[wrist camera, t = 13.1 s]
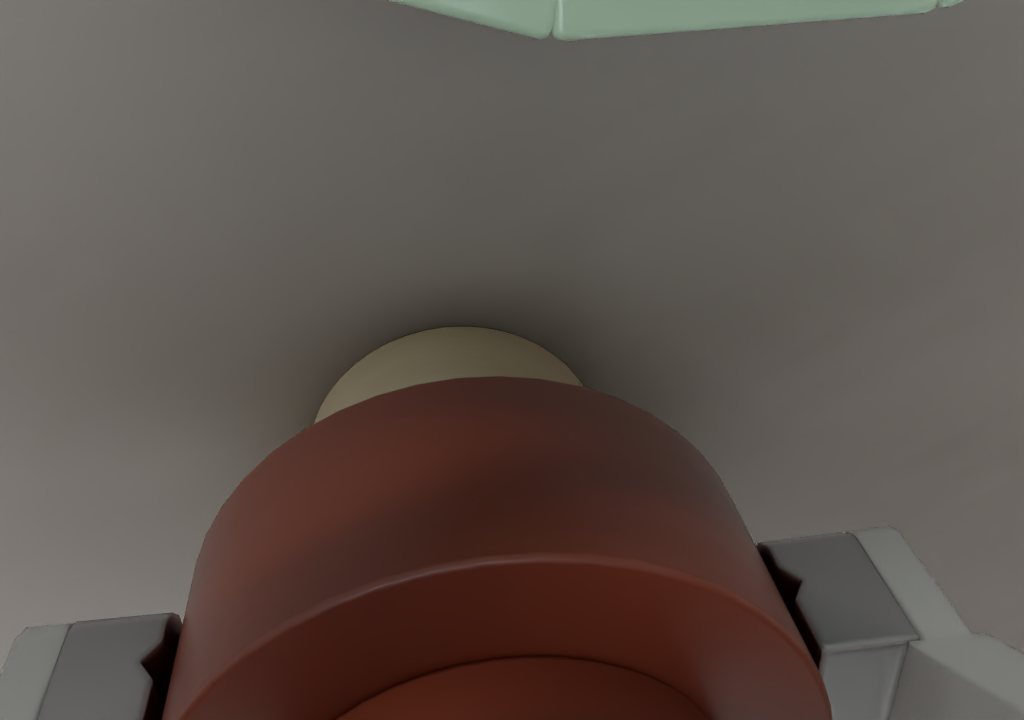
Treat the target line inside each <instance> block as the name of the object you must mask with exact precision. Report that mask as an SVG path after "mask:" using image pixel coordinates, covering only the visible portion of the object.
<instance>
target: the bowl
mask: <svg viewBox="0 0 1024 720" xmlns="http://www.w3.org/2000/svg"><path fill="white" fill-rule="evenodd" d="M386 1H390V2H394V3H398V4H402V5H406V6H410V7H413V8H417V9H421V10H425V11H429V12H433V13H437V14H440V15H444V16H448V17H452V18H456V19H460V20H464V21H468V22H471V23H475V24H479V25H483V26H487V27H491V28H495V29H499V30H502V31H506V32H510V33H514V34H518V35H522V36H526V37H530V38H533V39H544V38H547V37H548V36H549V35H551V36H552V38H554V39H557V40H560V41H575V40H588V39H601V38H614V37H627V36H640V35H653V34H667V33H680V32H693V31H706V30H719V29H732V28H745V27H758V26H771V25H784V24H797V23H810V22H823V21H836V20H849V19H862V18H875V17H888V16H901V15H914V14H923V13H926V12H928V11H931V10H933V9H935V7H937V8H948V7H950V6H953V5H955V4H958V3H960V2H963V1H965V0H386Z"/></svg>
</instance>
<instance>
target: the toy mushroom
mask: <svg viewBox="0 0 1024 720" xmlns="http://www.w3.org/2000/svg"><path fill="white" fill-rule="evenodd" d="M162 720H832V710H831V704H830V701H829V697H828V694H827V691H826V688H825V684H824V681H823V678H822V676H821V674H820V672H819V670H818V668H817V666H816V664H815V662H814V660H813V658H812V656H811V654H810V652H809V651H808V649H807V647H806V645H805V643H804V641H803V639H802V637H801V635H800V633H799V631H798V629H797V627H796V625H795V623H794V621H793V619H792V617H791V615H790V613H789V611H788V609H787V607H786V605H785V603H784V601H783V599H782V597H781V595H780V593H779V591H778V589H777V587H776V585H775V583H774V581H773V579H772V577H771V575H770V573H769V571H768V569H767V567H766V565H765V563H764V561H763V560H762V558H761V556H760V554H759V552H758V550H757V548H756V546H755V544H754V542H753V540H752V538H751V536H750V534H749V532H748V530H747V528H746V526H745V524H744V522H743V520H742V518H741V516H740V514H739V512H738V510H737V508H736V506H735V504H734V502H733V500H732V498H731V497H730V495H729V493H728V491H727V489H726V487H725V486H724V484H723V482H722V480H721V478H720V477H719V475H718V474H717V473H716V471H715V470H714V469H713V468H712V466H711V465H710V464H709V463H708V461H707V460H706V459H705V458H704V456H703V455H702V454H701V453H700V452H699V451H698V450H697V449H696V448H695V447H694V446H693V445H691V444H690V443H689V442H688V441H687V440H686V439H685V438H684V437H683V436H681V435H680V434H679V433H678V432H677V431H675V430H674V429H672V428H671V427H669V426H668V425H666V424H665V423H663V422H662V421H660V420H659V419H657V418H655V417H654V416H652V415H651V414H649V413H648V412H646V411H643V410H641V409H639V408H637V407H635V406H633V405H631V404H628V403H626V402H624V401H622V400H620V399H618V398H615V397H613V396H610V395H607V394H603V393H600V392H597V391H594V390H591V389H588V388H584V387H583V385H582V384H581V382H580V380H579V379H578V378H577V377H576V376H575V374H574V373H573V372H572V371H571V370H570V369H569V367H568V366H566V365H565V364H564V363H563V362H562V361H561V360H559V359H558V358H557V357H556V356H555V355H553V354H552V353H550V352H549V351H547V350H545V349H544V348H542V347H541V346H539V345H537V344H535V343H533V342H530V341H528V340H526V339H524V338H522V337H519V336H516V335H513V334H510V333H507V332H503V331H498V330H493V329H488V328H480V327H466V326H464V327H444V328H437V329H431V330H425V331H421V332H418V333H414V334H411V335H407V336H404V337H402V338H399V339H397V340H394V341H392V342H389V343H387V344H385V345H384V346H382V347H380V348H378V349H376V350H375V351H373V352H371V353H370V354H368V355H367V356H365V357H364V358H363V359H361V360H360V361H359V362H357V363H356V364H355V365H354V366H353V367H351V368H350V369H349V370H348V371H347V372H346V373H345V374H344V375H343V376H342V377H341V378H340V379H339V380H338V382H337V383H336V384H335V385H334V387H333V388H332V389H331V390H330V392H329V393H328V395H327V397H326V398H325V400H324V402H323V403H322V405H321V407H320V409H319V412H318V414H317V417H316V419H315V422H314V424H313V425H311V426H309V427H308V428H306V429H304V430H302V431H301V432H300V433H298V434H297V435H296V436H294V437H293V438H291V439H290V440H289V441H287V442H286V443H284V444H283V445H282V446H280V447H279V448H277V449H276V450H275V451H273V452H272V453H271V454H270V455H269V456H268V457H267V458H266V459H264V460H263V461H262V462H261V463H260V464H259V465H258V466H257V467H256V468H255V469H254V470H253V471H252V472H251V473H250V474H249V475H247V476H246V477H245V478H244V479H243V481H242V482H241V483H240V484H239V486H238V487H237V488H236V489H235V491H234V492H233V493H232V494H231V496H230V497H229V498H228V499H227V501H226V502H225V503H224V504H223V506H222V508H221V509H220V511H219V513H218V515H217V516H216V518H215V520H214V522H213V523H212V525H211V527H210V529H209V530H208V532H207V534H206V537H205V539H204V542H203V545H202V548H201V550H200V553H199V556H198V559H197V561H196V565H195V570H194V575H193V579H192V584H191V588H190V593H189V598H188V602H187V607H186V611H185V616H184V620H183V625H182V630H181V634H180V639H179V643H178V648H177V653H176V657H175V662H174V666H173V671H172V676H171V680H170V685H169V689H168V694H167V698H166V703H165V708H164V712H163V717H162Z"/></svg>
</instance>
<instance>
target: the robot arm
mask: <svg viewBox="0 0 1024 720" xmlns="http://www.w3.org/2000/svg"><path fill="white" fill-rule="evenodd" d="M756 548H757V550H758V552H759V554H760V556H761V558H762V560H763V561H764V563H765V565H766V567H767V569H768V571H769V573H770V575H771V577H772V579H773V581H774V583H775V585H776V587H777V589H778V591H779V593H780V595H781V597H782V599H783V601H784V603H785V605H786V607H787V609H788V611H789V613H790V615H791V617H792V619H793V621H794V623H795V625H796V627H797V629H798V631H799V633H800V635H801V637H802V639H803V641H804V643H805V645H806V647H807V649H808V651H809V652H810V654H811V656H812V658H813V660H814V662H815V664H816V666H817V668H818V670H819V672H820V674H821V676H822V678H823V681H824V684H825V688H826V691H827V694H828V697H829V701H830V704H831V710H832V720H1024V654H1023V653H1021V652H1020V651H1018V650H1016V649H1014V648H1012V647H1011V646H1009V645H1007V644H1005V643H1004V642H1002V641H1000V640H998V639H997V638H995V637H993V636H991V635H989V634H988V633H976V634H972V633H971V631H970V630H969V628H968V627H967V626H966V624H965V623H964V621H963V620H962V619H961V617H960V616H959V614H958V613H957V612H956V610H955V609H954V607H953V606H952V604H951V603H950V602H949V600H948V599H947V597H946V596H945V595H944V593H943V592H942V590H941V589H940V588H939V586H938V585H937V583H936V582H935V581H934V579H933V578H932V576H931V575H930V574H929V572H928V571H927V569H926V568H925V567H924V565H923V564H922V562H921V561H920V560H919V558H918V557H917V555H916V554H915V553H914V551H913V550H912V548H911V547H910V546H909V544H908V543H907V541H906V540H905V539H904V537H903V536H902V534H901V533H900V531H898V530H897V529H895V528H893V527H892V526H883V527H875V528H868V529H860V530H852V531H847V532H845V533H843V532H838V533H830V534H822V535H815V536H807V537H799V538H791V539H783V540H776V541H768V542H760V543H758V545H757V547H756ZM181 630H182V622H181V619H180V617H179V615H177V614H174V613H163V614H153V615H142V616H131V617H121V618H110V619H100V620H89V621H79V622H76V623H69V624H58V625H47V626H36V627H26V628H25V629H24V630H23V631H22V632H21V633H20V634H19V635H18V636H17V638H16V639H15V640H14V642H13V645H12V647H11V649H10V652H9V654H8V657H7V659H6V662H5V664H4V666H3V669H2V671H1V674H0V720H162V717H163V712H164V708H165V703H166V698H167V694H168V689H169V685H170V680H171V676H172V671H173V666H174V662H175V657H176V653H177V648H178V643H179V639H180V634H181Z"/></svg>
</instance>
